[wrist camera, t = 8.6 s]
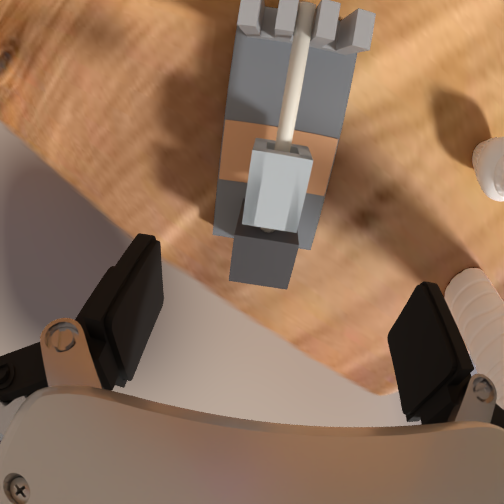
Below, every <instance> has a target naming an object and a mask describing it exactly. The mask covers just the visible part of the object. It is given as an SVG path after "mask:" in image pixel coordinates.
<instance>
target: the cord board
mask: <svg viewBox="0 0 504 504" xmlns="http://www.w3.org/2000/svg"><path fill="white" fill-rule="evenodd" d="M298 3H299V6H298ZM340 4H341V3H337V2H333V1H329V0H321V2H320V3H319V5H318V6H317V8H316V5H315V4H313V3H310V2H299V0H279V6H278V8H271V7H265V2H264V0H241V3H240V9H239V15H238V21H237V30H236V37H235V43H234V50H233V57H232V64H231V71H230V78H229V86H228V94H227V101H226V109H225V118H224V126H223V135H222V144H221V153H220V162H219V172H218V182H217V193H216V204H215V215H214V227H213V235H218V236H224V237H230V238H234V242H233V250H232V258H231V266H230V275H229V281H234V282H241V283H247V284H254V285H260V286H267V287H274V288H280V289H287V288H288V284H289V281H290V277H291V273H292V270H293V266H294V262H295V258H296V255H297V251H298V248H300V249H306V250H311V246H312V243H313V239H314V236H315V232H316V229H317V225H318V221H319V218H320V214H321V210H322V206H323V203H324V199H325V195H326V191H327V187H328V183H329V179H330V175H331V171H332V167H333V163H334V159H335V155H336V151H337V147H338V142H339V138H340V134H341V129H342V125H343V121H344V116H345V111H346V107H347V102H348V97H349V93H350V88H351V83H352V78H353V73H354V67H355V62H356V57H357V52H363V51H368V50H370V45H371V40H372V34H373V28H374V22H375V15H376V14H375V13H372V12H369V11H366V10H363V9H359V8H358V9H357V10H355V11H354V12H352V13H351V14H350V15H348V16H347V17H345V18H344V19H343V20H341V21H339V20H338V16H339V10H340ZM315 8H316V9H315ZM297 9H298V12H297ZM256 138H262V139H268V140H274V141H276V142H275V148H274V150H277V151H283V152H289V153H290V149H291V144H297V145H302V146H307V147H308V148H309V151H310V153H311V156H312V158H313V165H312V169H311V174H310V178H309V182H308V187H307V191H306V195H305V200H304V204H303V208H302V212H301V217H300V221H299V225H298V229H297V233H294V232H287V231H281V230H275V229H269V228H263V227H256V226H250V225H244V224H242V219H243V212H244V204H245V197H246V190H247V183H248V176H249V169H250V162H251V156H252V149H253V146H254V143H255V139H256Z"/></svg>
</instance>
